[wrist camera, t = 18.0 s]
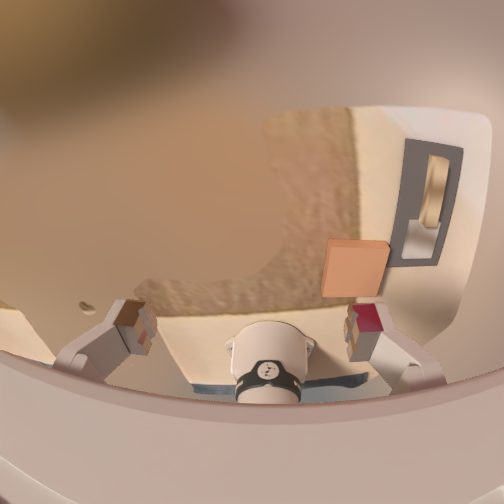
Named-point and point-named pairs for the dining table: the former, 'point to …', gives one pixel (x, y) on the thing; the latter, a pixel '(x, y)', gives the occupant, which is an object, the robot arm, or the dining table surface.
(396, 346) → the robot arm
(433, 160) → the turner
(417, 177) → the mat
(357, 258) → the tile
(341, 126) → the dining table surface
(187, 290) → the dining table surface
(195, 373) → the dining table surface
